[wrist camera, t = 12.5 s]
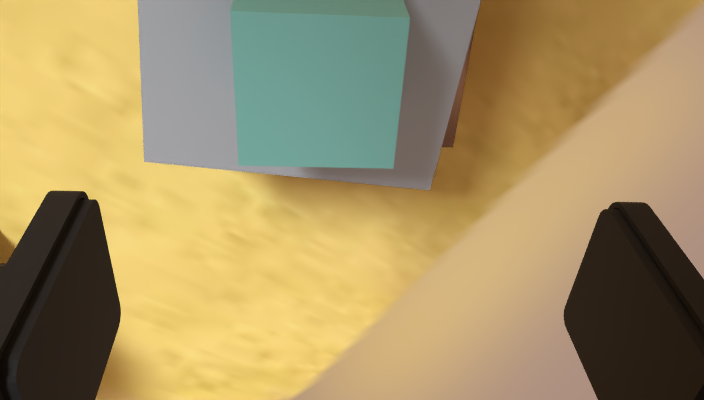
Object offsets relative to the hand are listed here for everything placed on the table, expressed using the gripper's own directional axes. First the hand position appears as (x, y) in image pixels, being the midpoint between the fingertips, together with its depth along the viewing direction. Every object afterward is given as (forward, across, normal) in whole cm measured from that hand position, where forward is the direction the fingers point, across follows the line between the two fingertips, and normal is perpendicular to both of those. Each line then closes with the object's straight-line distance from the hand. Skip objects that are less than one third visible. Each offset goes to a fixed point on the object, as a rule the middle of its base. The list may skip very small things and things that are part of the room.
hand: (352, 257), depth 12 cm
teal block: (+13, 0, +1) cm, 13 cm away
